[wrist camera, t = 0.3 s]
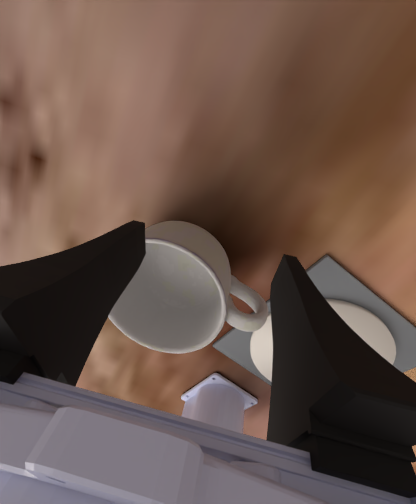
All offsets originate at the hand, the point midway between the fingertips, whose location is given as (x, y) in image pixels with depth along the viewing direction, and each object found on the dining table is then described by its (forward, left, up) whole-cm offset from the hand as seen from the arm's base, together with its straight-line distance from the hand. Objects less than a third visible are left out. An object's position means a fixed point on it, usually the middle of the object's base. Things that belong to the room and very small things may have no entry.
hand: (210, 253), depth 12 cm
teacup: (-7, -2, -11) cm, 13 cm away
